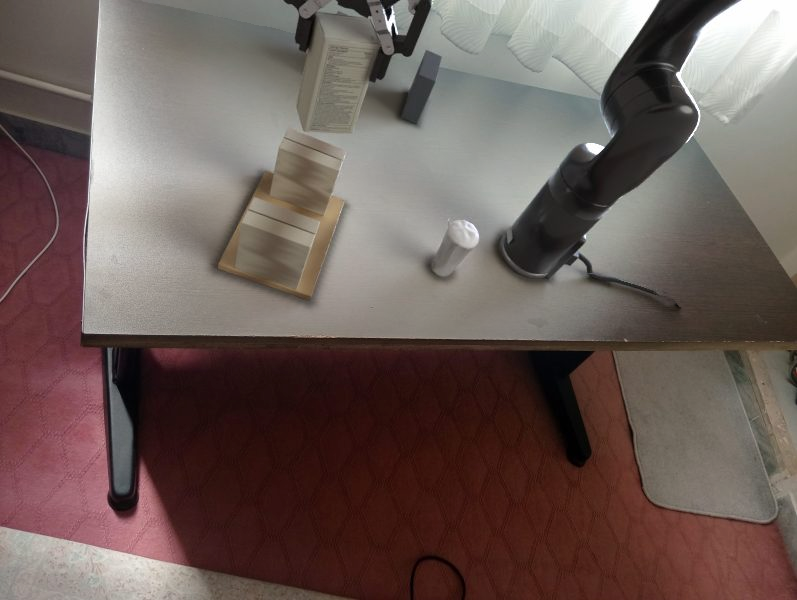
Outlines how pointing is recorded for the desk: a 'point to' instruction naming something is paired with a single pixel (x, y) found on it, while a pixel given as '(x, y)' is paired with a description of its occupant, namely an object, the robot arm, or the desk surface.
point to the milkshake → (454, 247)
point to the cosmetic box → (336, 72)
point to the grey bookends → (420, 85)
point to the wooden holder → (289, 218)
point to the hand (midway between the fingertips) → (339, 63)
